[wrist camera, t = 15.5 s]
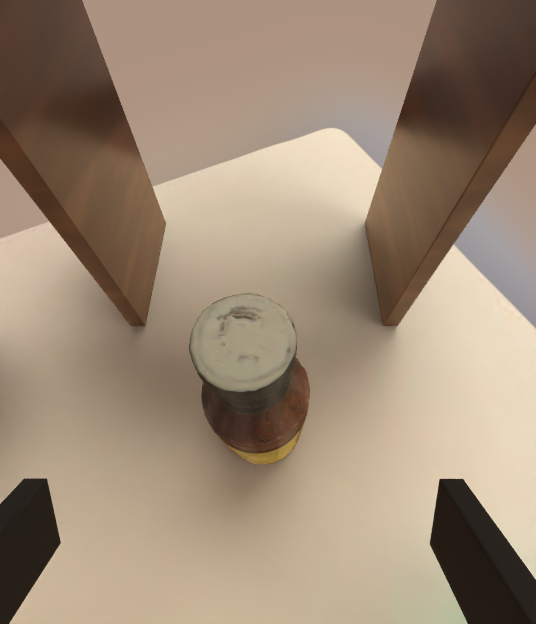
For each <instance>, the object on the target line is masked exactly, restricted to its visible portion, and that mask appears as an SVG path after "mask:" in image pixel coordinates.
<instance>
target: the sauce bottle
mask: <svg viewBox="0 0 536 624" xmlns="http://www.w3.org/2000/svg"><path fill="white" fill-rule="evenodd" d="M189 351H190V355H191V359H192V362H193V364H194V366H195V369H196V371H197V373H198V375H199V376H200V378H201V379H202V381H203V386H202V404H203V409H204V412H205V416H206V418H207V420H208V422H209V424H210V426H211V427H212V429H213V430H214V432H215V433H216V434H217V435H218V436H219V437H220V439H221V440H222V441H223V442H224V443H225V444H226V445H227V446H228V447H230V448H231V449H232V450H233V451H235V452H236V453H237V454H238V455H239V456H240V457H242V458H243V459H245V460H246V461H248V462H251V463H253V464H270V463H275V462H277V461H279V460H281V459H282V458H284V457H285V456H287V455H288V454H289V453H290V452H291V451H292V449H293V448H294V446H295V443H297V441H298V439H299V436H300V433H301V431H302V428H303V425H304V422H305V419H306V416H307V412H308V403H309V393H310V389H309V383H308V378H307V374H306V371H305V369H304V368H303V367H302V366H301V365H300V363H299V361H298V359H297V358H296V352H297V336H296V331H295V328H294V324H293V322H292V321H291V319H290V317H289V315H288V313H287V312H286V311H285V310H284V309H283V308H282V307H281V306H280V305H279V304H277V303H275V302H274V301H272V300H271V299H269V298H266V297H263V296H260V295H255V294H240V295H233V296H230V297H226V298H224V299H221V300H219V301H217V302H215V303H213V304H212V305H211V306H210V307H208V308H207V309H205V310H204V311H203V312H202V314H201V315H200V316H199V317H198V318H197V320H196V322H195V325H194V327H193V329H192V333H191V337H190V345H189Z"/></svg>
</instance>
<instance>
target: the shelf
mask: <svg viewBox="0 0 536 624" xmlns="http://www.w3.org/2000/svg"><path fill="white" fill-rule="evenodd" d="M535 124H536V0H437V1H436V5H435V8H434V11H433V14H432V17H431V20H430V23H429V26H428V29H427V32H426V35H425V39H424V42H423V45H422V48H421V51H420V54H419V57H418V60H417V64H416V66H415V70H414V73H413V76H412V79H411V82H410V85H409V88H408V91H407V94H406V97H405V101H404V104H403V107H402V110H401V113H400V116H399V119H398V122H397V125H396V128H395V132H394V135H393V138H392V141H391V144H390V147H389V150H388V153H387V156H386V159H385V162H384V166H383V169H382V172H381V175H380V178H379V181H378V184H377V187H376V190H375V193H374V196H373V200H372V203H371V206H370V209H369V212H368V215H367V218H366V221H365V224H366V230H367V236H368V241H369V247H370V253H371V258H372V264H373V270H374V276H375V281H376V287H377V293H378V299H379V304H380V310H381V316H382V322H383V325H384V326H397V325H398V324H399V323H400V322H401V320H402V319H403V317H404V316H405V314H406V313H407V311H408V310H409V308H410V307H411V305H412V304H413V303H414V301H415V300H416V298H417V297H418V295H419V294H420V292H421V291H422V289H423V288H424V286H425V285H426V284H427V282H428V281H429V279H430V278H431V276H432V275H433V273H434V272H435V270H436V269H437V268H438V266H439V265H440V263H441V262H442V260H443V259H444V257H445V256H446V254H447V253H448V251H449V250H450V249H451V247H452V246H453V244H454V243H455V241H456V240H457V238H458V237H459V235H460V234H461V232H462V231H463V230H464V228H465V227H466V225H467V224H468V222H469V221H470V219H471V218H472V216H473V215H474V213H475V212H476V211H477V209H478V208H479V206H480V205H481V203H482V202H483V200H484V199H485V197H486V196H487V194H488V193H489V192H490V190H491V189H492V187H493V186H494V184H495V183H496V181H497V180H498V178H499V177H500V176H501V174H502V173H503V171H504V170H505V168H506V167H507V165H508V163H509V162H510V161H511V159H512V158H513V157H514V155H515V154H516V152H517V151H518V149H519V148H520V146H521V144H522V143H523V142H524V141H525V139H526V138H527V136H528V135H529V133H530V132H531V130H532V129H533V127H534V126H535ZM0 159H1V160H2V161H3V162H4V164H5V165H6V166H7V168H8V169H9V170H10V171H11V173H12V174H13V175H14V177H15V178H16V179H17V180H18V182H19V183H20V184H21V185H22V187H23V188H24V189H25V191H26V192H27V193H28V194H29V196H30V197H31V198H32V200H33V201H34V202H35V203H36V205H37V206H38V207H39V209H40V210H41V211H42V212H43V214H44V215H45V216H46V218H48V220H49V221H50V223H51V224H52V225H53V227H54V228H55V229H56V230H57V232H58V233H59V234H60V235H61V237H62V238H63V239H64V241H65V242H66V243H67V244H68V246H69V247H70V248H71V250H72V251H73V252H74V253H75V255H76V256H77V257H78V259H79V260H80V261H81V262H82V264H83V265H84V266H85V268H86V269H87V270H88V271H89V273H90V274H91V275H92V276H93V278H94V279H95V280H96V282H97V283H98V284H99V285H100V287H101V288H102V289H103V291H104V292H105V293H106V294H107V296H108V297H109V298H110V300H111V301H112V302H113V303H114V305H115V306H116V307H117V308H118V310H119V311H120V312H121V314H122V315H123V316H124V317H125V319H126V320H127V321H128V323H129V324H130V325H131V326H145V324H146V319H147V314H148V309H149V304H150V299H151V295H152V290H153V285H154V280H155V275H156V270H157V265H158V260H159V255H160V250H161V245H162V240H163V235H164V230H165V225H166V222H165V219H164V217H163V214H162V211H161V209H160V206H159V203H158V201H157V198H156V196H155V193H154V190H153V188H152V185H151V182H150V180H149V177H148V174H147V172H146V169H145V166H144V164H143V161H142V159H141V156H140V153H139V150H138V148H137V145H136V142H135V140H134V137H133V135H132V132H131V129H130V127H129V124H128V121H127V119H126V116H125V113H124V111H123V108H122V105H121V103H120V100H119V97H118V95H117V92H116V89H115V87H114V84H113V81H112V79H111V76H110V73H109V71H108V68H107V66H106V63H105V60H104V57H103V55H102V53H101V50H100V47H99V44H98V42H97V39H96V36H95V34H94V31H93V28H92V26H91V23H90V20H89V18H88V15H87V12H86V10H85V7H84V4H83V2H82V0H0Z"/></svg>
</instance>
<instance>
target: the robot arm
mask: <svg viewBox="0 0 536 624" xmlns="http://www.w3.org/2000/svg"><path fill="white" fill-rule="evenodd" d="M60 543H61V542H60V537H59V533H58V528H57V523H56V519H55V514H54V509H53V505H52V500H51V496H50V491H49V486H48V482H47V479H23V480H22V481H21V483H20V484H19V485H18V486H17V487H16V488H15V489H14V490H13V491H12V492H11V493H10V494H9V495H8V496H7V498H6V499H5V500H4V501H3V502H2V503H1V504H0V624H9V623H10V621H11V620H12V618H13V616H14V615H15V613H16V612H17V610H18V609H19V607H20V606H21V604H22V602H23V601H24V599H25V598H26V596H27V595H28V593H29V592H30V590H31V588H32V587H33V585H34V584H35V582H36V581H37V579H38V577H39V576H40V574H41V573H42V571H43V570H44V568H45V567H46V565H47V563H48V562H49V560H50V559H51V557H52V556H53V554H54V552H55V551H56V549H57V548H58V546H59V545H60ZM430 545H431V547H432V550H433V552H434V554H435V556H436V558H437V560H438V562H439V564H440V566H441V568H442V570H443V572H444V575H445V577H446V579H447V581H448V583H449V585H450V587H451V589H452V591H453V593H454V595H455V597H456V600H457V602H458V604H459V606H460V608H461V610H462V612H463V614H464V616H465V618H466V620H467V623H468V624H536V580H535V578H534V577H533V575H532V574H531V573H530V571H529V570H528V568H527V567H526V566H525V564H524V563H523V562H522V560H521V559H520V557H519V556H518V555H517V553H516V552H515V550H514V549H513V548H512V546H511V545H510V543H509V542H508V541H507V539H506V538H505V537H504V535H503V534H502V532H501V531H500V530H499V528H498V527H497V525H496V524H495V523H494V521H493V520H492V519H491V517H490V516H489V514H488V513H487V512H486V510H485V509H484V507H483V506H482V505H481V503H480V502H479V501H478V499H477V498H476V496H475V495H474V494H473V492H472V491H471V489H470V488H469V487H468V485H467V484H466V483H465V481H464V480H463V479H440V480H439V487H438V494H437V500H436V507H435V513H434V520H433V526H432V533H431V540H430Z"/></svg>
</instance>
